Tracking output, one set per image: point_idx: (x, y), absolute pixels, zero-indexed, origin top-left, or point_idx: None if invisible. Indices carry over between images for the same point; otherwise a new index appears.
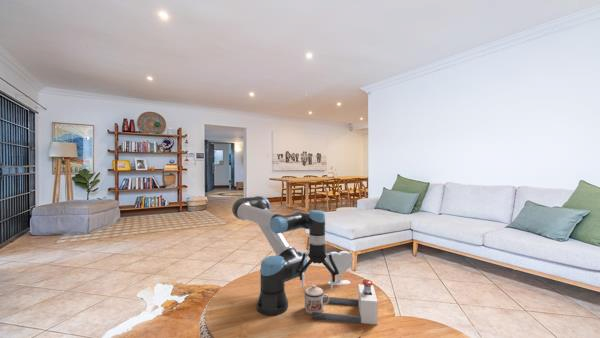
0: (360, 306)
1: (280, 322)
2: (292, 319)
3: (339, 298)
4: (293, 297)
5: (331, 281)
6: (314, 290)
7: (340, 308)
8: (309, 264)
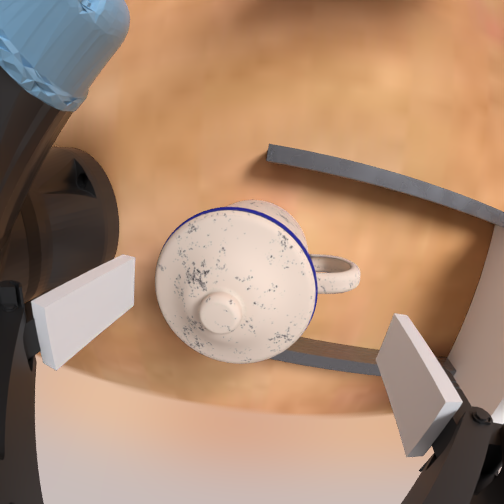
0: (479, 373)
1: (113, 337)
2: (151, 326)
3: (430, 193)
4: (143, 112)
5: (399, 411)
6: (228, 342)
7: (409, 247)
8: (38, 499)
